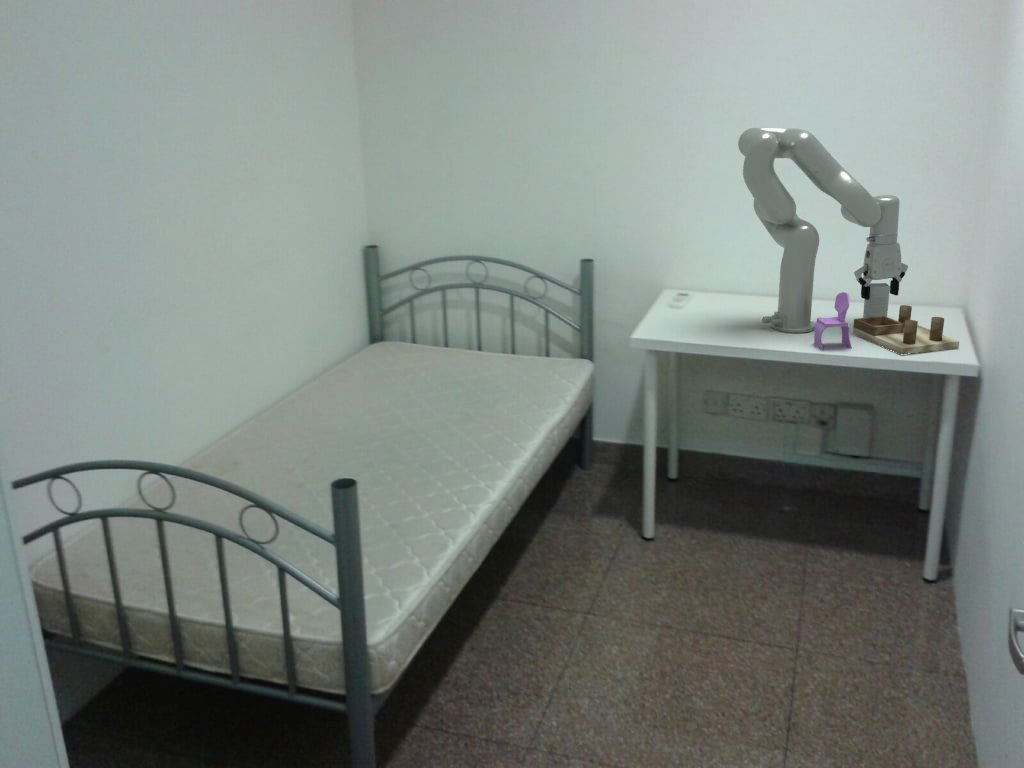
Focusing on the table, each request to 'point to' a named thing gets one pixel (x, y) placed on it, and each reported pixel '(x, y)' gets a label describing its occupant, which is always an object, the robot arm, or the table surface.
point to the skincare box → (877, 300)
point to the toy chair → (835, 321)
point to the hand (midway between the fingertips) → (879, 296)
